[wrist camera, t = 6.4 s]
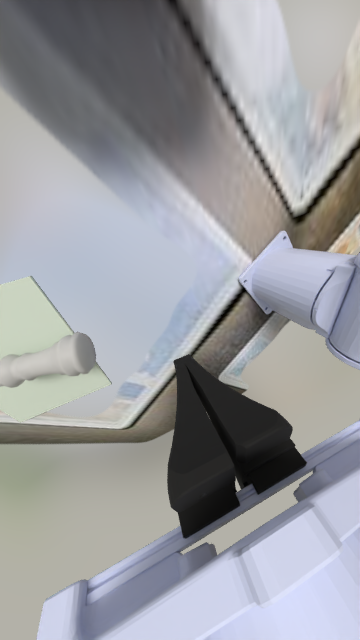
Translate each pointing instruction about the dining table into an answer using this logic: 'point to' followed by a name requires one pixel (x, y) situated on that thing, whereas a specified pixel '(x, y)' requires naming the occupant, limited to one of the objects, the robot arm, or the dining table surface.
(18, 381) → the rook chess piece
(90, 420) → the dining table surface
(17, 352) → the mat
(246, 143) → the dining table surface
